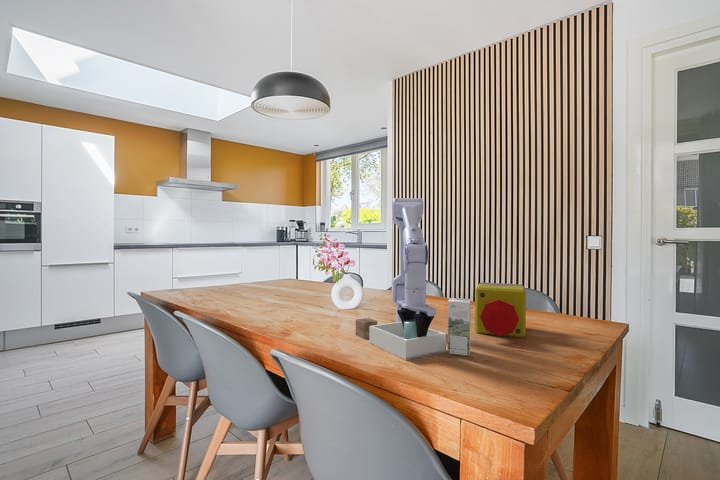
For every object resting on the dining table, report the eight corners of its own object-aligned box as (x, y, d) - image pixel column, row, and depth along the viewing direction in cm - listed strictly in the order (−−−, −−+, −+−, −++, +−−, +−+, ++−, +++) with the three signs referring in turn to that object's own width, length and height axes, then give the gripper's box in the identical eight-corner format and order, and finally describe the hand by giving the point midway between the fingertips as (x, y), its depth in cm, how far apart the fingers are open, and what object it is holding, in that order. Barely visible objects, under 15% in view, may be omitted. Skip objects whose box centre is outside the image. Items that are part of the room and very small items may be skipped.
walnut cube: (369, 333, 119) (369, 317, 119) (377, 336, 115) (377, 321, 115) (355, 335, 117) (355, 319, 117) (363, 339, 112) (363, 322, 112)
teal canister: (417, 343, 103) (417, 319, 103) (426, 349, 98) (426, 323, 98) (400, 345, 101) (400, 320, 101) (409, 351, 97) (409, 324, 97)
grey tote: (406, 336, 115) (406, 320, 115) (446, 352, 100) (446, 333, 99) (369, 342, 108) (369, 325, 108) (405, 360, 93) (405, 340, 93)
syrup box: (470, 350, 101) (471, 298, 101) (469, 357, 95) (470, 301, 95) (449, 348, 103) (449, 296, 103) (447, 355, 97) (447, 300, 97)
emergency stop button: (472, 341, 110) (472, 291, 110) (478, 323, 133) (478, 282, 133) (527, 346, 105) (527, 294, 105) (523, 327, 127) (524, 284, 127)
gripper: (388, 285, 104) (387, 333, 105) (420, 292, 92) (420, 346, 92) (407, 284, 108) (407, 330, 108) (442, 290, 95) (441, 342, 95)
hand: (415, 337), depth 100 cm, fingers closed on teal canister, 5 cm apart
